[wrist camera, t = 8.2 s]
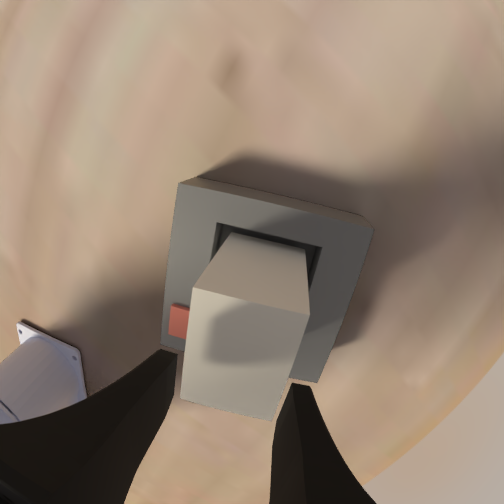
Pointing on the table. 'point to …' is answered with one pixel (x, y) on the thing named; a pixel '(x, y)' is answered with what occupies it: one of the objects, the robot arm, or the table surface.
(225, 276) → the plug
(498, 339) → the table surface
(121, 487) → the robot arm
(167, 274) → the socket
